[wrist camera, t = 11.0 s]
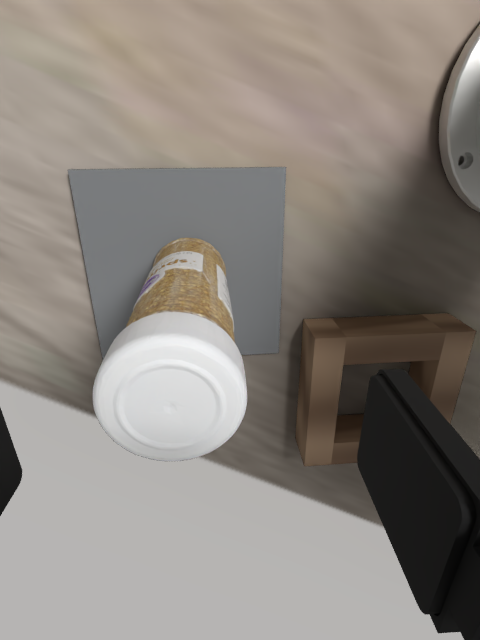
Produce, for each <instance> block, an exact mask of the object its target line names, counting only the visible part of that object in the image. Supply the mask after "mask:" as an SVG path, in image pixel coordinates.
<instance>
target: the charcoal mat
mask: <svg viewBox="0 0 480 640" xmlns="http://www.w3.org/2000/svg"><path fill="white" fill-rule="evenodd" d="M68 174H69V179H70V185H71V190H72V196H73V201H74V207H75V212H76V217H77V223H78V228H79V234H80V239H81V245H82V250H83V255H84V261H85V266H86V272H87V277H88V283H89V288H90V293H91V299H92V304H93V310H94V315H95V321H96V326H97V331H98V337H99V342H100V348H101V353H102V359H104V357H105V355H106V353H107V351H108V350H109V348H110V346H111V344H112V343H113V341H114V339H115V338H116V337H117V336H118V335H119V333H120V332H121V331H122V330H123V329H125V328H126V325H127V323H128V321H129V319H130V317H131V314H132V312H133V308H134V305H135V303H136V301H137V299H138V297H139V294H140V292H141V290H142V288H143V286H144V284H145V281H146V279H147V277H148V275H149V273H150V271H151V270H152V268H153V263H154V260H155V258H156V255H157V254H158V253H159V251H160V250H161V249H162V248H163V247H164V246H166V245H167V244H169V243H170V242H172V241H174V240H177V239H180V238H197V239H201V240H203V241H206V242H208V243H210V244H211V245H212V246H213V247H214V248H215V249H216V250H217V251H218V252H219V253H220V255H221V258H222V259H223V261H224V264H225V268H226V280H227V284H228V291H229V296H230V302H231V308H232V315H233V321H234V341H235V344H236V346H237V347H238V350H239V352H240V354H241V355H251V354H272V353H279V335H280V310H281V284H282V259H283V234H284V208H285V183H286V167H245V168H156V169H71V170H68Z"/></svg>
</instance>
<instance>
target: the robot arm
mask: <svg viewBox="0 0 480 640" xmlns="http://www.w3.org/2000/svg"><path fill="white" fill-rule="evenodd" d="M439 147H440V154H441V160H442V165H443V167H444V170H445V173H446V176H447V178H448V181H449V183H450V184H451V186H452V187H453V189H454V190H455V192H456V193H457V195H458V196H459V197H460V198H461V199H462V200H463V201H464V202H465V203H466V204H467V205H468V206H469V207H470V208H472V209H474V210H476V211H478V212H480V24H479V26H478V27H477V29H476V30H475V32H474V33H473V34H472V36H471V37H470V39H469V40H468V42H467V43H466V44H465V46H464V48H463V50H462V52H461V54H460V56H459V58H458V60H457V62H456V64H455V66H454V68H453V70H452V73H451V76H450V79H449V81H448V84H447V87H446V90H445V93H444V97H443V102H442V108H441V113H440V118H439ZM458 160H459V162H458ZM357 462H358V467H359V470H360V473H361V475H362V477H363V480H364V482H365V484H366V486H367V489H368V491H369V493H370V496H371V498H372V500H373V503H374V505H375V507H376V510H377V512H378V514H379V517H380V519H381V521H382V523H383V526H384V528H385V530H386V533H387V535H388V537H389V540H390V542H391V544H392V546H393V549H394V551H395V553H396V555H397V558H398V560H399V563H400V565H401V567H402V570H403V572H404V574H405V576H406V579H407V581H408V583H409V586H410V588H411V590H412V593H413V595H414V597H415V600H416V602H417V604H418V606H419V608H420V610H421V611H422V612H423V613H424V614H430V616H431V619H432V621H433V623H434V625H435V627H436V630H437V632H438V633H447V632H461V634H462V636H463V638H464V640H480V459H479V458H478V457H477V456H476V454H475V453H474V452H473V451H472V450H471V448H470V447H469V446H468V445H467V444H466V443H465V441H464V440H463V439H462V438H461V437H460V435H459V434H458V433H457V432H456V431H455V429H454V428H453V427H452V426H451V425H450V423H449V422H448V421H447V420H446V419H445V417H444V416H443V415H442V414H441V413H440V411H439V410H438V409H437V408H436V407H435V405H434V404H433V403H432V402H431V401H430V400H429V398H428V397H427V396H426V395H425V394H424V392H423V391H422V390H421V389H420V388H419V386H418V385H417V384H416V383H415V382H414V380H413V379H412V378H411V377H410V376H409V374H408V373H407V372H406V371H405V370H404V369H385V370H379V371H378V372H377V375H376V376H371V378H370V382H369V388H368V394H367V400H366V406H365V412H364V418H363V423H362V429H361V435H360V441H359V447H358V453H357ZM21 478H22V468H21V465H20V462H19V460H18V457H17V454H16V451H15V448H14V446H13V443H12V440H11V437H10V434H9V431H8V428H7V425H6V422H5V420H4V417H3V414H2V411H1V408H0V516H1V514H2V512H3V511H4V509H5V507H6V506H7V504H8V502H9V501H10V499H11V497H12V496H13V494H14V492H15V490H16V489H17V487H18V486H19V484H20V481H21Z"/></svg>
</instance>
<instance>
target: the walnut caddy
mask: <svg viewBox="0 0 480 640" xmlns="http://www.w3.org/2000/svg"><path fill="white" fill-rule="evenodd" d="M475 334H476V331H475V330H474V329H472V328H470V327H469V326H467V325H466V324H464V323H463V322H461V321H460V320H458V319H456V318H455V317H453V316H452V315H450V314H449V313H438V314H414V315H391V316H367V317H344V318H320V319H303V331H302V346H301V361H300V376H299V391H298V406H297V421H296V436H295V438H296V442H297V445H298V448H299V451H300V454H301V457H302V460H303V464H304V466H317V465H331V464H345V463H358V462H357V453H358V447H359V441H360V435H361V429H362V423H363V418H364V414H353V415H337V412H338V403H339V395H340V387H341V379H342V371H343V365H353V364H372V363H391V362H410V361H411V365H410V370H409V376H410V377H411V378H412V379H413V380H414V382H415V383H416V384H417V385H418V386H419V388H420V389H421V390H422V391H423V392H424V394H425V395H426V396H427V397H428V398H429V400H430V401H431V402H432V403H433V404H434V405H435V407H436V408H437V409H438V410H439V411H440V413H441V414H442V415H443V416H444V417H445V419H446V420H447V421H448V422H449V423H451V419H452V416H453V412H454V409H455V405H456V401H457V398H458V394H459V391H460V387H461V384H462V380H463V376H464V373H465V369H466V366H467V362H468V359H469V355H470V352H471V348H472V344H473V341H474V337H475Z"/></svg>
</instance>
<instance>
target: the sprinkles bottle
mask: <svg viewBox="0 0 480 640" xmlns="http://www.w3.org/2000/svg"><path fill="white" fill-rule="evenodd" d="M246 406H247V387H246V378H245V370H244V364H243V360H242V356H241V354H240V352H239V350H238V347H237V346H236V344H235V341H234V321H233V315H232V308H231V302H230V296H229V291H228V284H227V280H226V268H225V264H224V261H223V259H222V258H221V255H220V253H219V252H218V251H217V250H216V249H215V248H214V247H213V246H212V245H211V244H210V243H208V242H206V241H203V240H201V239H197V238H180V239H177V240H174V241H172V242H170V243H169V244H167V245H166V246H164V247H163V248H162V249H161V250H160V251H159V253H158V254H157V255H156V258H155V260H154V263H153V268H152V270H151V271H150V273H149V275H148V277H147V279H146V281H145V284H144V286H143V288H142V290H141V292H140V294H139V297H138V299H137V301H136V303H135V305H134V308H133V312H132V314H131V317H130V319H129V321H128V323H127V325H126V328H125V329H123V330H122V331H121V332H120V333H119V335H118V336H117V337H116V338H115V339H114V341H113V343H112V344H111V346H110V348H109V350H108V351H107V353H106V355H105V357H104V359H103V361H102V363H101V366H100V368H99V370H98V373H97V375H96V378H95V382H94V386H93V407H94V411H95V414H96V417H97V419H98V421H99V423H100V425H101V426H102V428H103V429H104V431H105V432H106V433H107V434H108V435H109V436H110V438H111V439H113V441H115V442H116V443H117V444H118V445H120V446H121V447H123V448H124V449H126V450H128V451H129V452H131V453H133V454H136V455H138V456H141V457H145V458H148V459H153V460H159V461H183V460H188V459H193V458H197V457H200V456H202V455H205V454H207V453H210V452H212V451H213V450H215V449H217V448H218V447H220V446H221V445H223V444H224V443H225V442H226V441H227V440H229V438H230V437H231V436H232V435H233V434H234V433H235V431H236V430H237V429H238V427H239V425H240V423H241V421H242V419H243V417H244V414H245V411H246Z"/></svg>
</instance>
